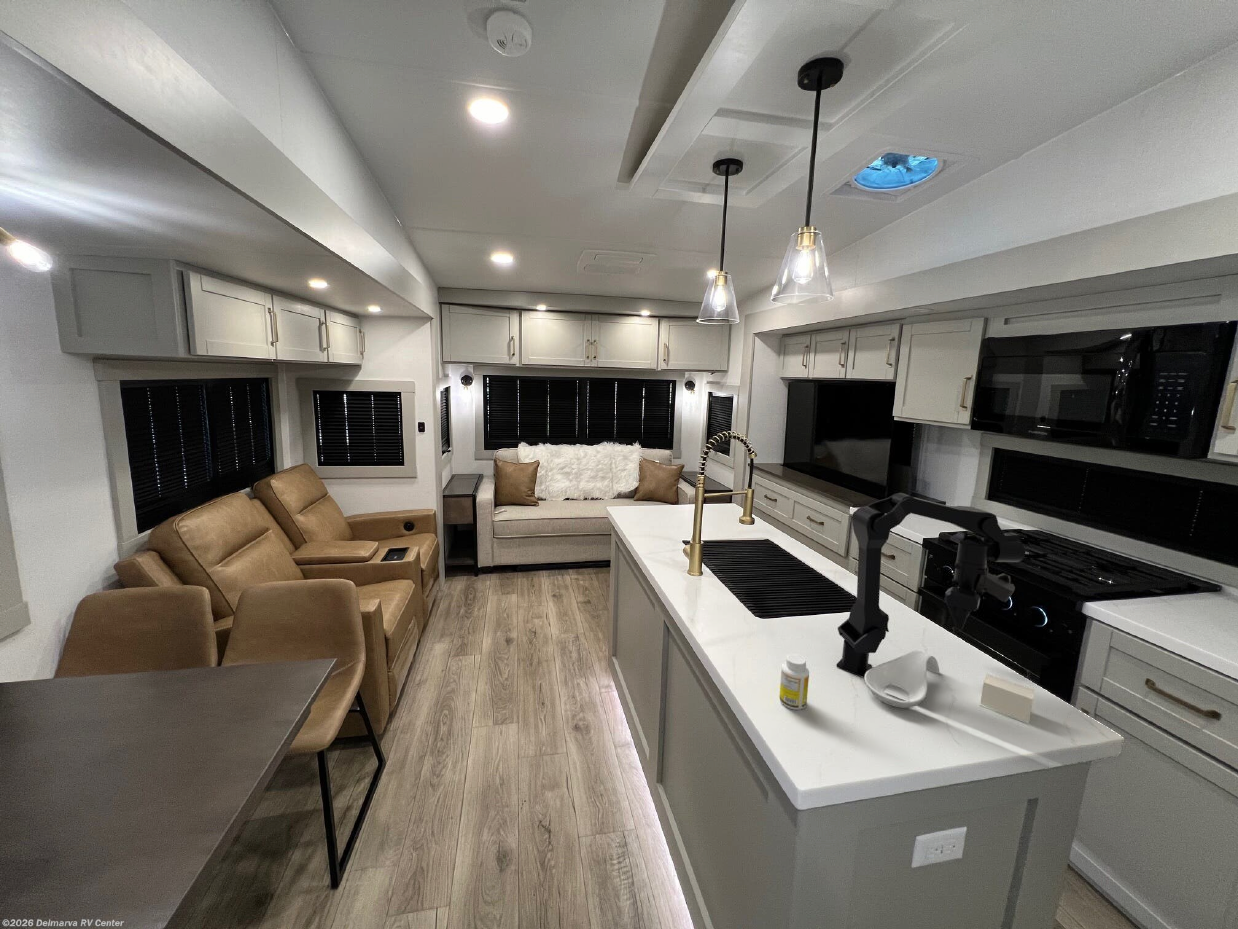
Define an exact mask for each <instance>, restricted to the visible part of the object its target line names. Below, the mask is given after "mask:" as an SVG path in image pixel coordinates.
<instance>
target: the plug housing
mask: <svg viewBox="0 0 1238 929" xmlns="http://www.w3.org/2000/svg"><path fill="white" fill-rule="evenodd" d="M1034 695H1035V689H1034V688H1031V687H1027V686H1024V685H1023V684H1020V683H1016V682H1013V681H1010V680H1008V679H1004V678H1001V677H998V676H996V675H995V676H994V675H992V674H989V673H986V675H985V677H984V680H983V684H982V690H981V697H980V703H979V705H980V704H983V705H986V706H988V707H991V708H994V709H996V710H999V711H1001V712H1004V713H1007V714H1009V715H1012V716H1015V717H1017V718H1020V719H1023V720H1025V721H1028V722H1029V723H1030V719H1031V713H1032V708H1033V702H1034Z"/></svg>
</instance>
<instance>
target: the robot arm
mask: <svg viewBox="0 0 1238 929" xmlns="http://www.w3.org/2000/svg"><path fill="white" fill-rule="evenodd" d="M911 514H913V515H917V516H921V517H925V518H928V519H932V520H936V521H940V522H945V523H948V524H951V525H953V526H956V527H957V528H960V529H962V530H964V531H967V532H968V533H969V532H970V533H972V534H967V533H965V532H963V531H958V532H957V533H956V534H953V535H952V536H950V538H949V540H951V541H953V542H955V543H957V544H958V546H957V547H958V548H957V554H956V560H955V563H954V566H953V567H954V575H953V579H952V581H951V585H953V586H952V587H950V588H948V589H947V590H946V591H945V593H944V599H943V600H944V602H945V603H946V606H947V608H948V609H949V613H950V615H951V618H952V620H953V623H954V625H955V629H957V630H959V631H960V630H963V628H964V626H965V623H966V621H967V618H968V617H969V616H970V615H971V614H970V613H971V612H976V611H977V610H978V609H979V606H980V603H981V602H980V601H981V597H980V596H982V595H984V594H985V593H988V594H990V595H992V596H994V597H996V598H997V599H998V600H999V601H1001V602H1005V603H1006V602H1007V601H1008V600H1009V599H1010V597H1011V596H1012V595H1013V593H1014V592H1015V589H1016V587H1015V585H1014V584H1013V583H1011V576H1010V575H1008V574H1006V573H1004V572H1003V573H1001V574H998V575H997V574H992V573H990V572H989V567H988V565H987V561H990V562H995V563H997V562H998V563H1003V562H1004V563H1020V562H1022V561H1023V559H1024V558H1025V557H1026V556H1025V555H1026V549H1025V547H1024V545H1023V542H1022V541H1021V540H1020V537H1021V535H1019V534H1016V533H1014V532H1005V533H1004V531H1003V530H1002V528H1001V527H1000V525H999V520H998V517H997V515H996V514H994V513H992V512H989V511H986V510H983V509H979V508H977V507H974V506H968V505H967V506H966V505H964V506H963V505H956V506H955V505H953V506H952V505H946V504H943V503H938V502H935V501H930V500H925V499H922V498H918V497H914V496H911V495H909V494H906V493H904V492H898V493H897V492H896V493H894V494H892V495H890V496H888V497H886V498H883V499H880V500H877V501H873V502H871V503H869V504H868V505H866V506H865V505H864V506H860V507H859V508H857V509H856V510H855V511H854V512H853V513H852V517H851V520H852V521H851V523H852V529H853V533H854V535H855V539H856V541H857V544H858V554H857V555H858V558H857V585H856V586H857V587H856V600H855V601H856V602H855V603H853V605H852V606H851V608H850V611H849V616H848V618H847V619H845V621H843V622H842V623H841V624H840V625H839V626H838V627H837V631H838V632H837V633H838V635H839V636H840V637H842V639H843V646H842V654H841V659H840V660H839V661H837V663H836V667H837V668H839V669H842V670H844V671H846V672H849V673H851V674H854V675H857V676H858V677H862V678H864V677H865V674H866V672H867V671H868V670H870V669H871V668H873V665H872V664H871V663H869V658H870V654H875V653H877V651H878V649H879V646H880V645H881V644H882V641H883V640H885V638H886V634H887V633H889V632H890V630H889V626H888V625H889V621H890V617H889V614H888V613H887V612H885V611H884V610H882V608H881V607H880V595H881V593H880V591H881V590H880V588H881V572H882V571H881V568H882V551H883V550H882V549H883V547H884V546H885V544H886V543H887V542H888V540H889V537H890V534H891V530H892V529H893V528H896V527H897V526H899V525H901V523H902V522H903V521H904V520H905V519H906V518H907V516H909V515H911ZM981 537H983V538H981Z"/></svg>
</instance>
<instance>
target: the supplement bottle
mask: <svg viewBox="0 0 1238 929" xmlns="http://www.w3.org/2000/svg"><path fill="white" fill-rule="evenodd" d="M780 673H781V674H780V686H779V701H780V703H781V704H782V705H783V706H784V707H786V708H788V709H791V710H799V711H800V710H803V709H805V708H806V707H807V704H808V691H809V680H810V670H809V668H808V667H807V659H806V658H805V657H804V656H802V655H800V654H795V653H789V654H787V655H786V658H785V662H784V663H782V665H781V672H780Z"/></svg>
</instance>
